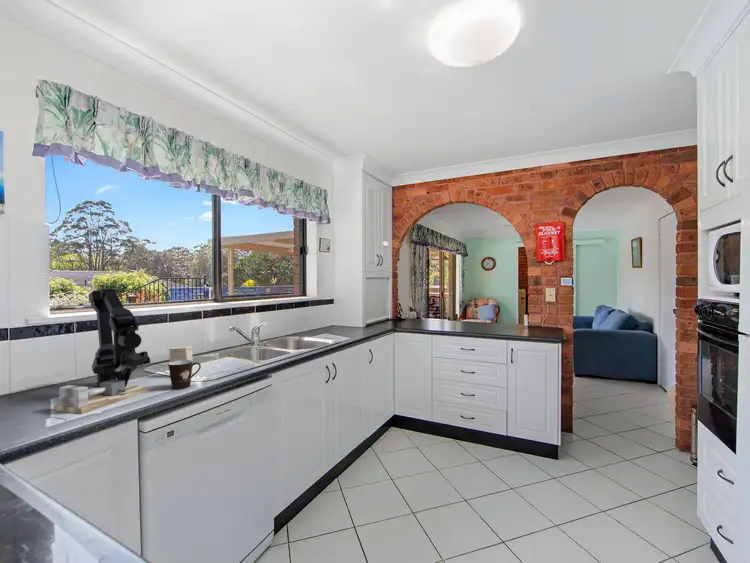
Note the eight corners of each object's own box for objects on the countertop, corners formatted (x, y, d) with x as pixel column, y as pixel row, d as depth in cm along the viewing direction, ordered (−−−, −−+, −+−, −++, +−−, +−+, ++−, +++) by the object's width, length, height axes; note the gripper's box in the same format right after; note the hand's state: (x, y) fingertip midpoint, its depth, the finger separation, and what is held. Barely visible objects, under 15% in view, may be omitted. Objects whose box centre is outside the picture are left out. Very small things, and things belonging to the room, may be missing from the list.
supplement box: (193, 374, 167) (192, 346, 167) (187, 377, 163) (186, 348, 162) (176, 374, 168) (175, 346, 168) (169, 377, 163) (168, 348, 163)
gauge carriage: (82, 399, 129) (82, 387, 129) (113, 390, 140) (112, 379, 140) (101, 401, 126) (101, 389, 126) (131, 391, 137) (131, 380, 137)
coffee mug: (168, 391, 142) (167, 365, 142) (169, 386, 150) (168, 361, 150) (202, 387, 147) (201, 362, 147) (201, 382, 155) (200, 358, 155)
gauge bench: (53, 410, 124) (53, 387, 124) (124, 388, 148) (124, 369, 148) (81, 413, 120) (81, 390, 120) (149, 390, 144) (149, 371, 144)
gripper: (115, 351, 129) (116, 396, 129) (160, 342, 147) (161, 381, 147) (91, 350, 132) (93, 394, 133) (139, 341, 150) (140, 380, 150)
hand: (124, 387), depth 141 cm, fingers closed
